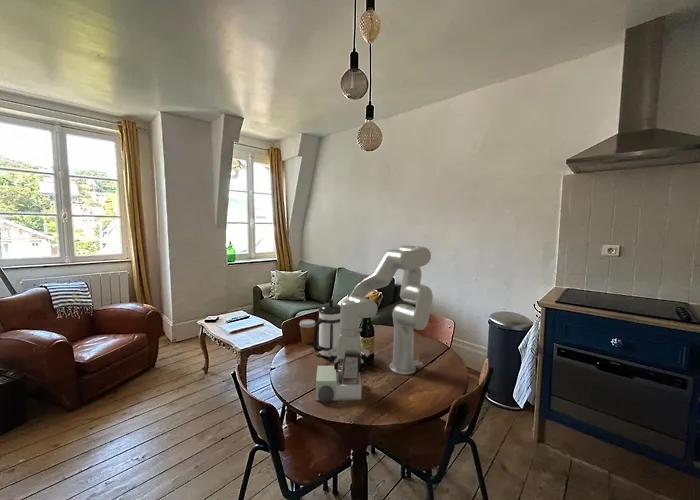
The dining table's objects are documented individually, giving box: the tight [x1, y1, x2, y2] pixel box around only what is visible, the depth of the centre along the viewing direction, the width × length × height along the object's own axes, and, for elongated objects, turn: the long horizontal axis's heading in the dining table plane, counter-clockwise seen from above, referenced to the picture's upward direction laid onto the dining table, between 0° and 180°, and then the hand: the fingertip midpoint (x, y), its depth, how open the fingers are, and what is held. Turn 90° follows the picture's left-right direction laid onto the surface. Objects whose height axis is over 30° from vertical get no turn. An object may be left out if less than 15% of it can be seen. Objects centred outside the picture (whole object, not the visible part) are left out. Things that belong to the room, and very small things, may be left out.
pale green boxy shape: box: [315, 365, 362, 404], centre depth 128 cm, size 18×16×8 cm
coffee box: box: [341, 354, 362, 384], centre depth 127 cm, size 9×6×16 cm
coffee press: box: [312, 299, 341, 362], centre depth 160 cm, size 17×16×30 cm
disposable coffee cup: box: [298, 318, 316, 344], centre depth 180 cm, size 10×10×12 cm
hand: (348, 371), depth 128 cm, fingers open, 9 cm apart
